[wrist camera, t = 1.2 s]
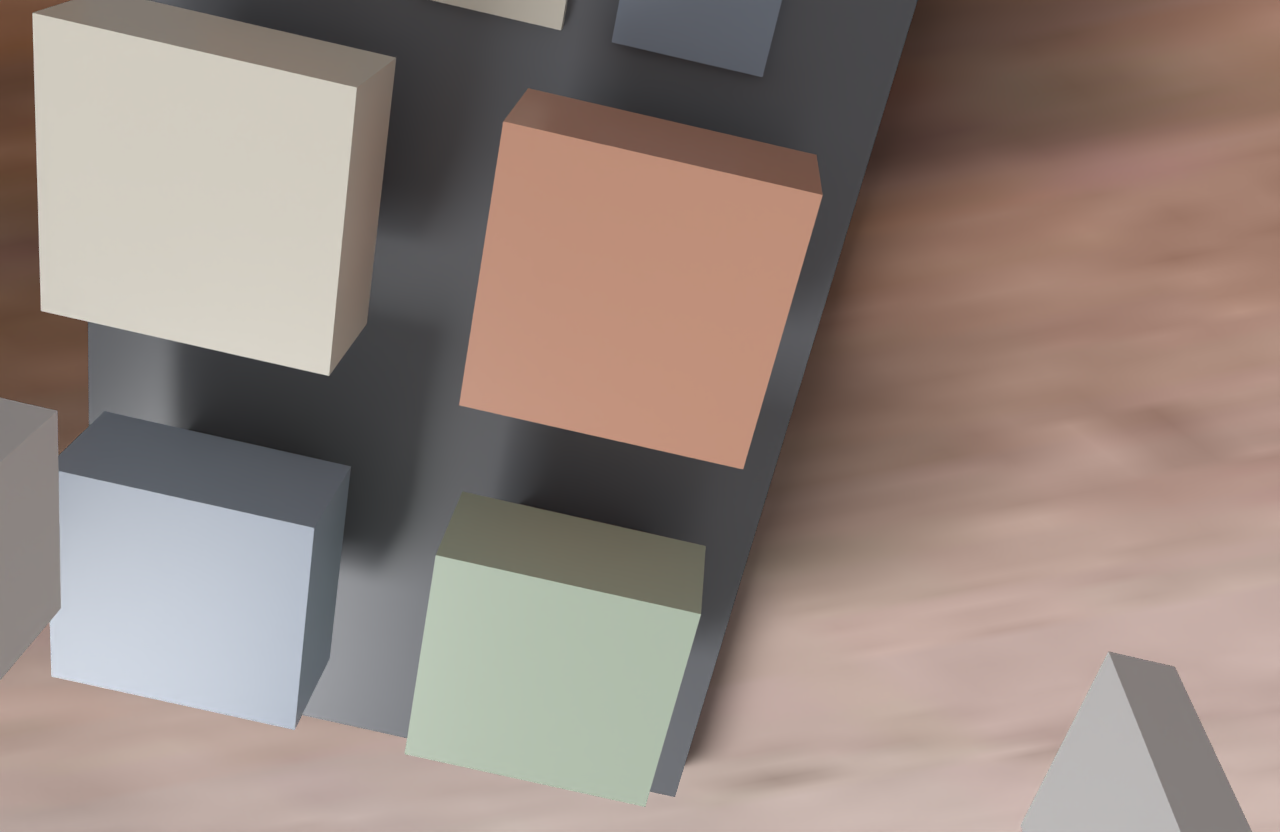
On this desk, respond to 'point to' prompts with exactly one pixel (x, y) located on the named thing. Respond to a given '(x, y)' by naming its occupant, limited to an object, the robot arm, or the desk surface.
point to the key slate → (197, 568)
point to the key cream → (208, 178)
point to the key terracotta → (636, 276)
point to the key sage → (554, 648)
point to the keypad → (447, 285)
